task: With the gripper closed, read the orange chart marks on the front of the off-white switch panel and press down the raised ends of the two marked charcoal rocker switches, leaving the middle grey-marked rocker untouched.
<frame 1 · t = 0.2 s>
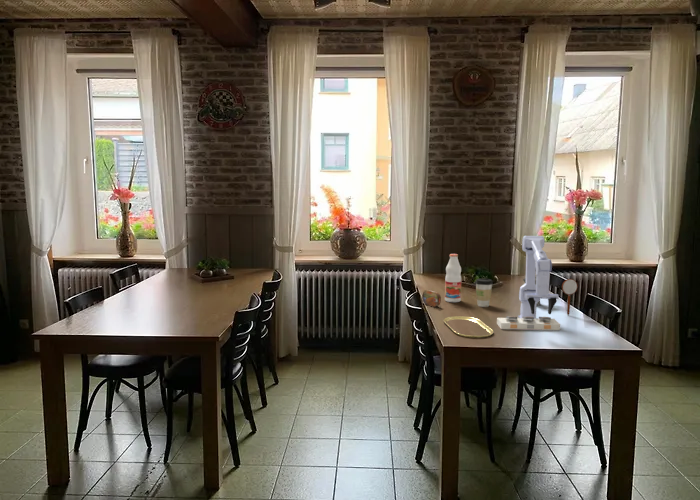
hand: (541, 313, 250), 10 cm above the table, tool pointing down, fingers open, 7 cm apart
coffee cup: (483, 305, 307), on the table
tin: (431, 305, 308), on the table
rocker c: (544, 318, 262), point 5 cm above the table, hinge at -12.0°
rocker b: (528, 317, 263), point 5 cm above the table, hinge at -12.0°
serving platter: (467, 328, 262), on the table
magnifying glass: (568, 316, 285), on the table
fruit juice: (452, 301, 319), on the table
switch panel: (527, 326, 264), on the table
rocker a: (511, 317, 263), point 5 cm above the table, hinge at -12.0°
coffeepot: (533, 304, 311), on the table
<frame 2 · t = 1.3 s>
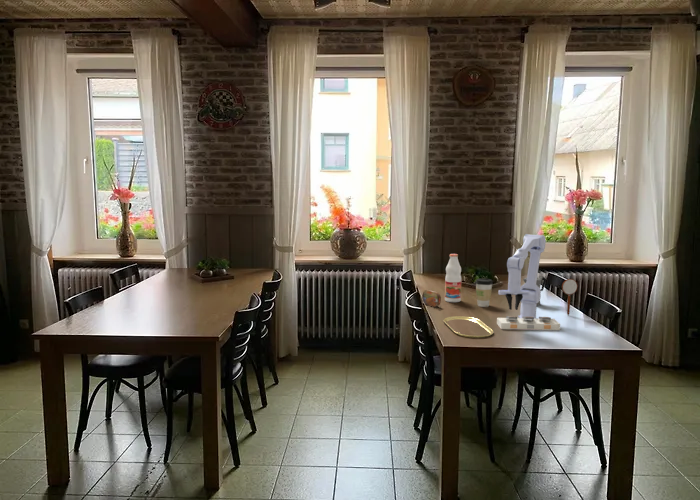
hand: (513, 309, 260), 9 cm above the table, tool pointing down, fingers closed
nothing on the table moved.
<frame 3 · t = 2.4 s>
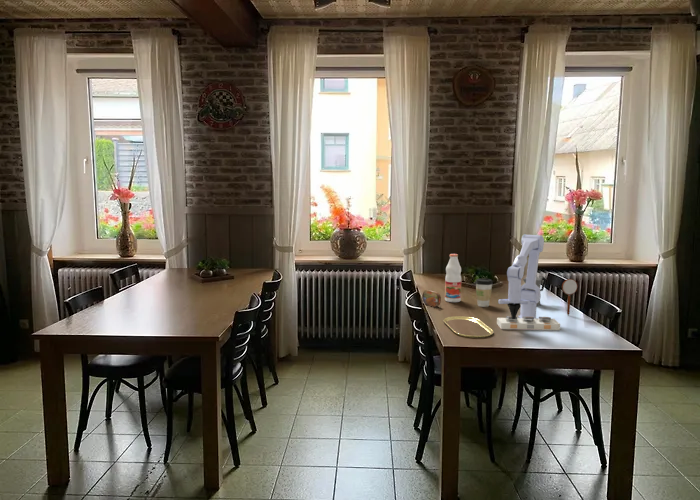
hand: (513, 318, 260), 5 cm above the table, tool pointing down, fingers closed, pressing on rocker a
rocker a: (511, 317, 263), point 5 cm above the table, hinge at -9.7°, touching gripper
everything else where it was.
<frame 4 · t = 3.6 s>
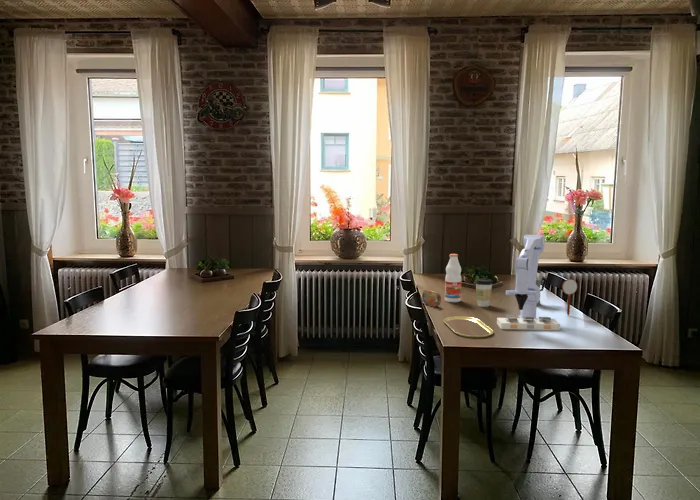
hand: (520, 309, 260), 9 cm above the table, tool pointing down, fingers closed
rocker a: (511, 317, 263), point 5 cm above the table, hinge at 2.9°
everything else where it was.
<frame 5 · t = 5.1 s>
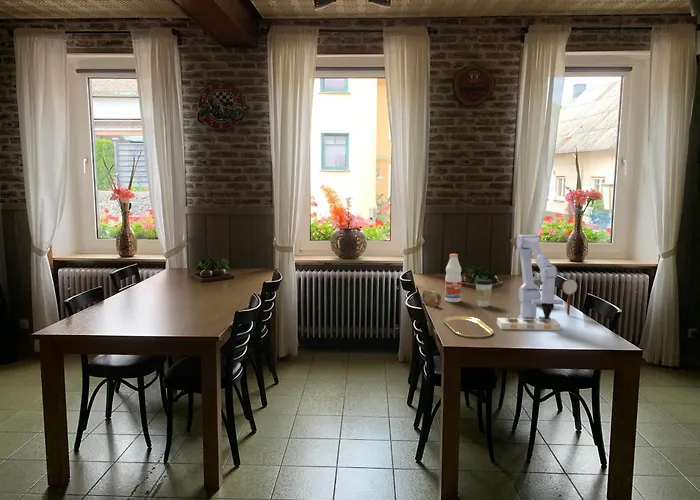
hand: (546, 318, 259), 5 cm above the table, tool pointing down, fingers closed, pressing on rocker c
rocker c: (544, 318, 262), point 5 cm above the table, hinge at -11.1°, touching gripper
rocker a: (511, 317, 263), point 5 cm above the table, hinge at 10.7°
everything else where it was.
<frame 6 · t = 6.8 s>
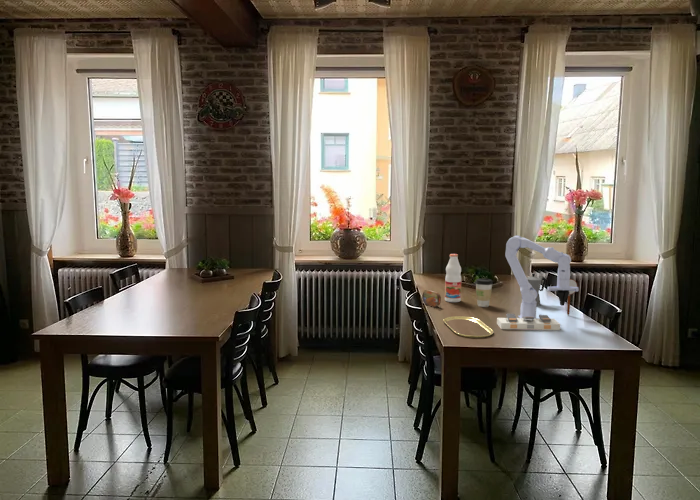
hand: (562, 305, 268), 9 cm above the table, tool pointing down, fingers closed
rocker c: (544, 318, 262), point 5 cm above the table, hinge at 4.9°
rocker a: (511, 317, 263), point 5 cm above the table, hinge at 15.4°
everything else where it was.
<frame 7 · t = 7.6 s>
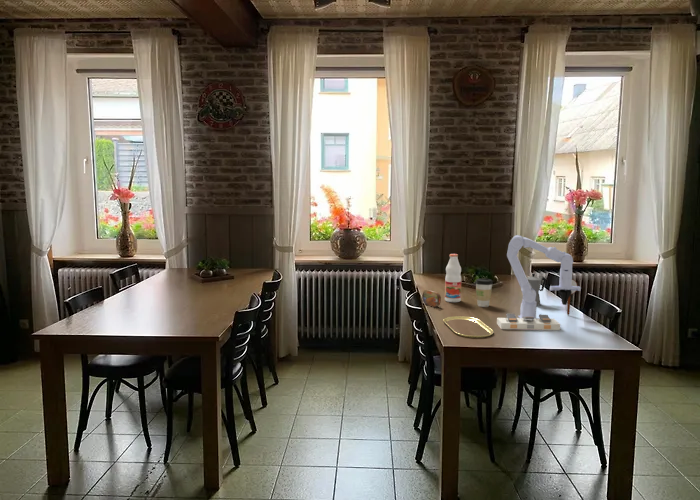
hand: (564, 304, 270), 9 cm above the table, tool pointing down, fingers closed
rocker c: (544, 318, 262), point 5 cm above the table, hinge at 8.7°
rocker a: (511, 317, 263), point 5 cm above the table, hinge at 16.6°
everything else where it was.
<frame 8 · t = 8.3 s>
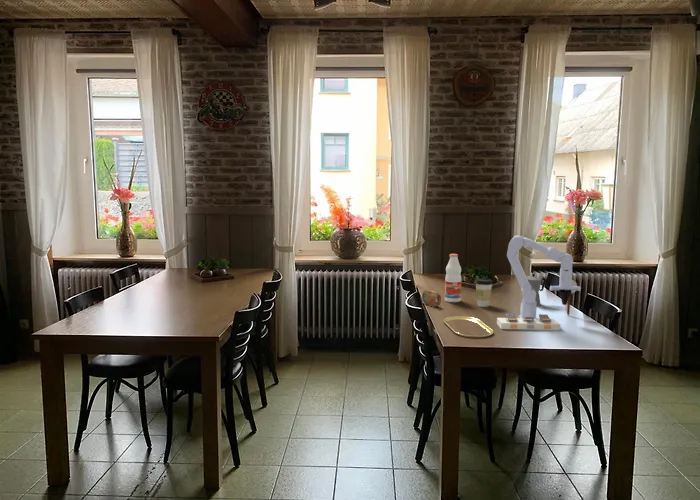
hand: (564, 304, 270), 9 cm above the table, tool pointing down, fingers closed
rocker c: (544, 318, 262), point 5 cm above the table, hinge at 11.2°
rocker a: (511, 317, 263), point 5 cm above the table, hinge at 17.5°
everything else where it was.
at the end: rocker a at +18° (first picture: -12°); rocker c at +12° (first picture: -12°); rocker b at -12° (first picture: -12°) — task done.
